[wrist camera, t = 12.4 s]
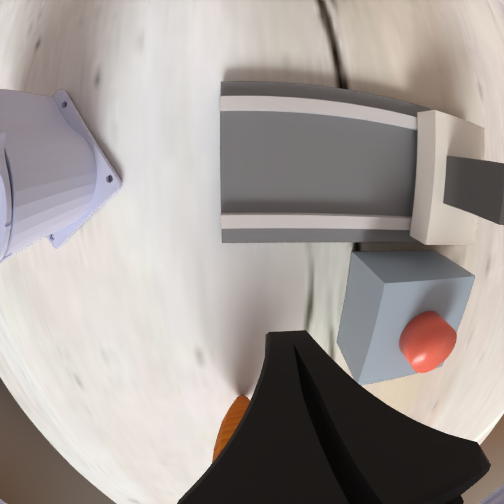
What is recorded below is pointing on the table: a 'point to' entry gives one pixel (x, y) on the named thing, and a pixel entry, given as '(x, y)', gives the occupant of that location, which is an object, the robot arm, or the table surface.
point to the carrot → (230, 423)
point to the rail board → (315, 164)
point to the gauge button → (427, 341)
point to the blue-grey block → (395, 307)
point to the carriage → (453, 181)
